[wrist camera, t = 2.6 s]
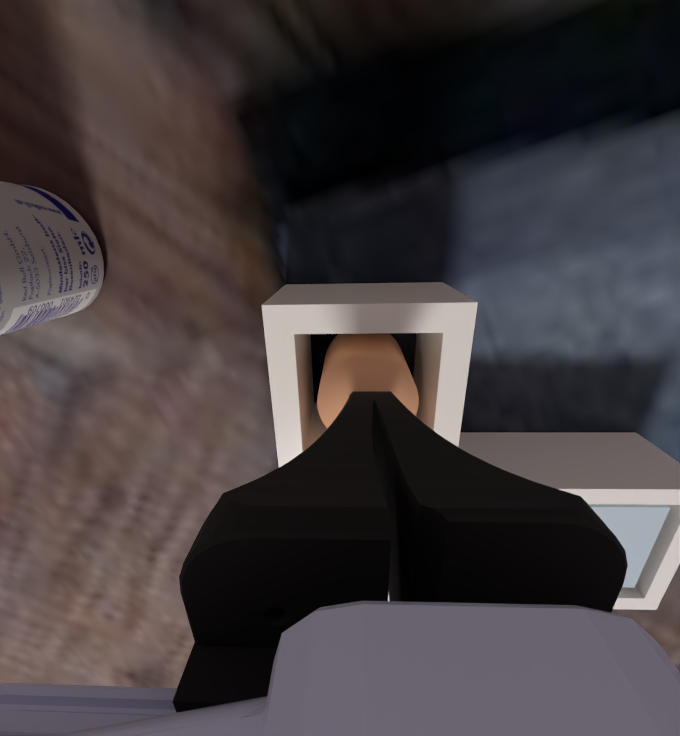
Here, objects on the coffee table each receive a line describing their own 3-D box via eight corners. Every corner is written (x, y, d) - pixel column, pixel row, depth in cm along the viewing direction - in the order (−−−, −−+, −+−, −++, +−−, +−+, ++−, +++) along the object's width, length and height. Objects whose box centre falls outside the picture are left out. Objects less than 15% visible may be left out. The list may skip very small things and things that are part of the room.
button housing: (442, 282, 15) (477, 302, 11) (429, 419, 18) (454, 477, 14) (285, 284, 15) (261, 305, 11) (296, 419, 18) (279, 476, 14)
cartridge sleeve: (636, 432, 18) (716, 489, 14) (598, 537, 20) (656, 609, 17) (373, 432, 18) (380, 487, 14) (371, 535, 21) (376, 605, 17)
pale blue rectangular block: (612, 456, 18) (762, 587, 11) (587, 528, 20) (704, 675, 13) (370, 456, 18) (381, 582, 12) (368, 526, 20) (377, 668, 14)
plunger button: (404, 324, 15) (422, 355, 11) (400, 397, 16) (415, 446, 13) (323, 325, 15) (314, 356, 11) (326, 397, 17) (319, 446, 13)
